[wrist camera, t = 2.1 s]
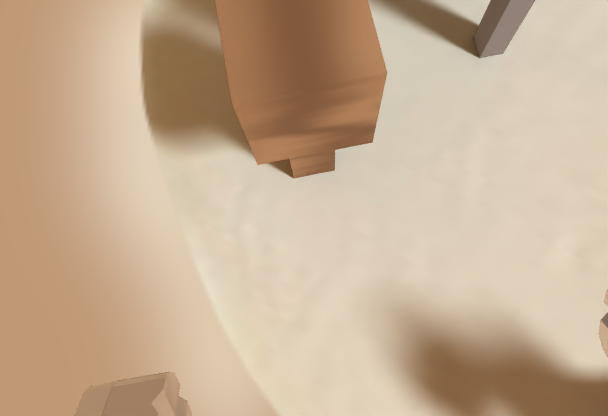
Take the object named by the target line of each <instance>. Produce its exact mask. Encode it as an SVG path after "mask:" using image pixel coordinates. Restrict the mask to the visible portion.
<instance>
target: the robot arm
mask: <svg viewBox="0 0 608 416" xmlns="http://www.w3.org/2000/svg"><path fill="white" fill-rule="evenodd" d="M604 303H605V304H606V305H607V306H608V290H607V291H606V295H605V300H604ZM599 336H600V340H601V344H602V347H603V350H604V351H605V353H606V355H607V357H608V313H607V314H606V315H605V316H604V317H603V318H602V319H601V321H600V329H599ZM179 389H180V384H179V381H178V379H177V378H176V375H175V373H173V372H165V373H159V374H154V375H148V376H142V377H137V378H130V379H124V380H119V381H116V382H110V383H104V384H97V385H91V386H90V387H89V388H88V389H87V390H86V391H85V392H84V394H83V395H82V398H81V401H80V403H79V406H78V408H77V411H76V413H75V416H192V413H191V409H190V406H189V404H188V402H187V401H186V400H185V399H183V398H181V397H179V396H178V395H179Z"/></svg>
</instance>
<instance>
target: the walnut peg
mask: <svg viewBox="0 0 608 416" xmlns="http://www.w3.org/2000/svg"><path fill="white" fill-rule="evenodd" d="M215 4H216V10H217V17H218V23H219V29H220V35H221V41H222V48H223V54H224V60H225V66H226V72H227V79H228V85H229V91H230V97H231V103H232V106H233V108H234V110H235V113H236V115H237V117H238V120H239V122H240V124H241V127H242V129H243V131H244V134H245V136H246V139H247V141H248V143H249V146H250V148H251V150H252V153H253V155H254V157H255V160H256V162H257V164H258V165H260V164H265V163H270V162H275V161H280V160H285V159H289V160H290V164H291V168H292V172H293V177H294V178H298V177H303V176H308V175H313V174H318V173H323V172H328V171H333V170H335V150H336V149H341V148H346V147H351V146H356V145H361V144H367V143H372V142H373V137H374V132H375V128H376V123H377V118H378V113H379V109H380V104H381V99H382V94H383V90H384V85H385V80H386V75H387V70H386V66H385V63H384V59H383V55H382V52H381V48H380V44H379V40H378V37H377V33H376V29H375V26H374V22H373V18H372V14H371V11H370V7H369V3H368V0H215Z"/></svg>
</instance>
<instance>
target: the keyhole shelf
mask: <svg viewBox="0 0 608 416" xmlns="http://www.w3.org/2000/svg"><path fill="white" fill-rule="evenodd" d="M534 1H535V0H491V1H490V3H489V5H488V8H487V10H486V12H485V14H484V16H483V18H482V20H481V22H480V24H479V27H478V29H477V31H476V33H475V35H474V37H473V39H474V42H475V45H476V48H477V51H478V54H479V57H480V58H482V57H487V56H493V55H498V54H503V53H504V51H505V49H506V48H507V46H508V44H509V43H510V41H511V39H512V38H513V36H514V35H515V33H516V31H517V30H518V28H519V26H520V25H521V23H522V21H523V20H524V18H525V16H526V15H527V13H528V11H529V10H530V8H531V6H532V5H533V3H534Z"/></svg>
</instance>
